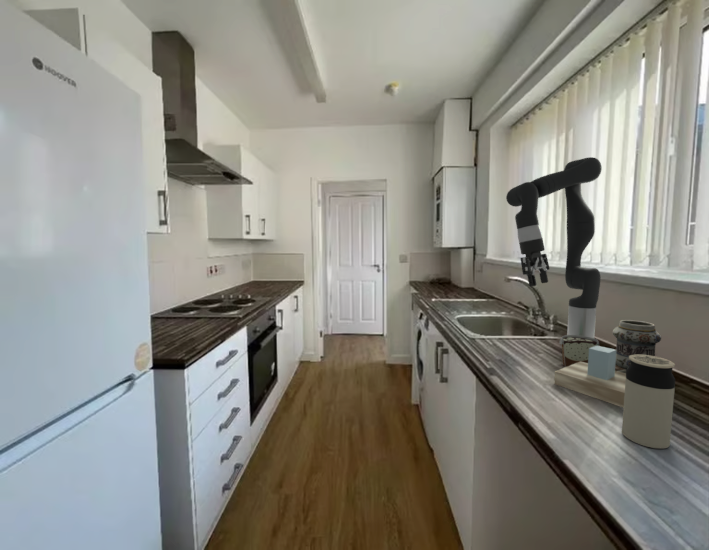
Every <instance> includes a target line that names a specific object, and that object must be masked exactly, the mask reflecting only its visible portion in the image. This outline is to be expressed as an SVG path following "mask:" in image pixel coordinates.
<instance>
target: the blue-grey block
mask: <svg viewBox="0 0 709 550" xmlns="http://www.w3.org/2000/svg"><path fill="white" fill-rule="evenodd" d="M615 362H616V348H615V349H614V348H610V347H605V346H600V345H599V346H598V345H597V346H594V347H591V348H589V356H588V373H587V375H591V376H594V377H598V378H601V379H604V380H609V379H610V378H612V377H614V376H615V371H616V364H615Z"/></svg>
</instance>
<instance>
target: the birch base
mask: <svg viewBox="0 0 709 550" xmlns="http://www.w3.org/2000/svg"><path fill="white" fill-rule="evenodd" d="M618 371H619V370H615V376H614V377H612V378H610V379H609V380H604V379H601V378H598V377H594V376H591V375H587V373H588V363H585V362H581V361H580V362H578V363H575V364H573V365H570V366H567V367H563V368H560V369H558V370H555V371H554V380H553V381H554V382H553V383H554V385H556V386H559V387H562V388H565V389H567V390H571V391H573V392H576V393H579V394H582V395H585V396H589V397H591V398H594V399H597V400H600V401H603V402H606V403H609V404H611V405H615V406H618V407H620V408H623V409H624V396H625V382H626V373H622V372H618Z"/></svg>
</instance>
